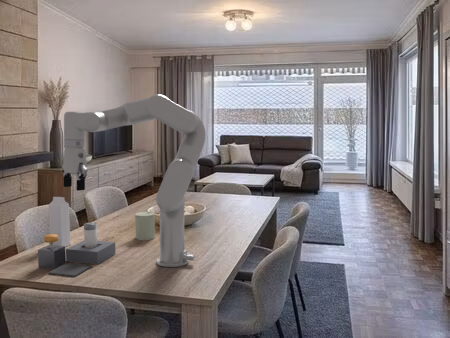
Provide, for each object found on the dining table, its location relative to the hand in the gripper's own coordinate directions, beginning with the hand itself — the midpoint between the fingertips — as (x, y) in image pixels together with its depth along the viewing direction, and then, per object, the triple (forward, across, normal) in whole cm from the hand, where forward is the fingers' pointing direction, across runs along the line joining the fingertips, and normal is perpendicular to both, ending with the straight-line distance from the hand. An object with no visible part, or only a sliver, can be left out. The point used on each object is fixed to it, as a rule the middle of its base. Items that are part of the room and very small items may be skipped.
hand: (74, 188), depth 176 cm
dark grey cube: (+30, +2, +8) cm, 31 cm away
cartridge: (+29, 0, -8) cm, 30 cm away
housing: (+29, 0, -8) cm, 30 cm away
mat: (+29, -8, +6) cm, 31 cm away
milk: (+30, +25, -8) cm, 40 cm away
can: (+29, +9, -42) cm, 52 cm away
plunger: (+26, +2, +8) cm, 28 cm away
